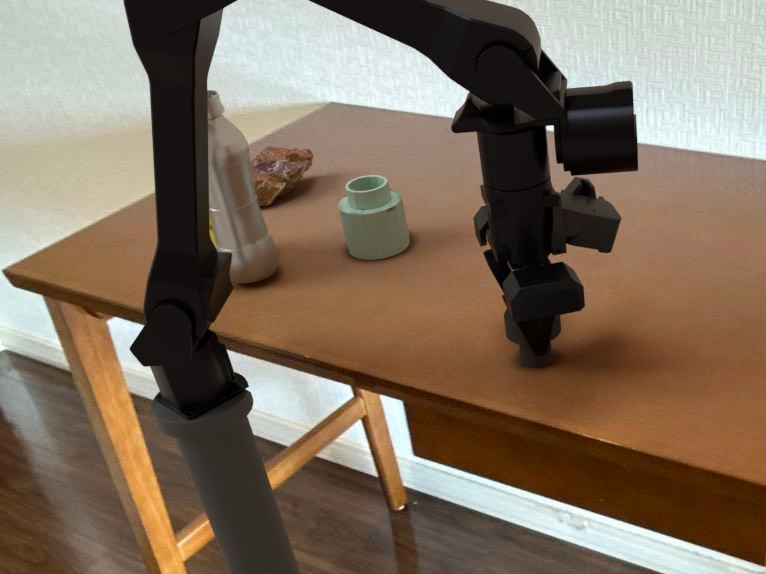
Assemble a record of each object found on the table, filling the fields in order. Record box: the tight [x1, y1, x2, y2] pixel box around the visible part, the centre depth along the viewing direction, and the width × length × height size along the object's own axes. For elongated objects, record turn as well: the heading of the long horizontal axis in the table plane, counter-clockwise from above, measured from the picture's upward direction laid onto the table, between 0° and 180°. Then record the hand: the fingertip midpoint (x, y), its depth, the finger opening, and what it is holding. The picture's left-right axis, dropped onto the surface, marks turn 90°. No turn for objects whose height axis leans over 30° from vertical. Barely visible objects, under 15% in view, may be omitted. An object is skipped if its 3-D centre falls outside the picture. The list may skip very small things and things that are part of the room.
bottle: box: [337, 174, 411, 261], centre depth 117 cm, size 7×7×8 cm
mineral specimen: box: [250, 145, 314, 207], centre depth 133 cm, size 12×8×7 cm
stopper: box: [503, 308, 562, 368], centre depth 95 cm, size 5×5×5 cm
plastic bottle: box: [207, 89, 279, 284], centre depth 110 cm, size 6×7×20 cm
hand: (534, 340), depth 96 cm, fingers closed on stopper, 5 cm apart
